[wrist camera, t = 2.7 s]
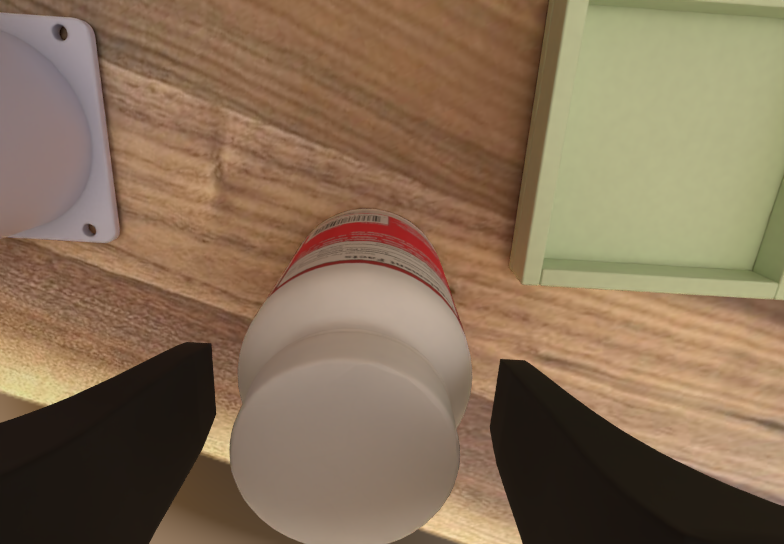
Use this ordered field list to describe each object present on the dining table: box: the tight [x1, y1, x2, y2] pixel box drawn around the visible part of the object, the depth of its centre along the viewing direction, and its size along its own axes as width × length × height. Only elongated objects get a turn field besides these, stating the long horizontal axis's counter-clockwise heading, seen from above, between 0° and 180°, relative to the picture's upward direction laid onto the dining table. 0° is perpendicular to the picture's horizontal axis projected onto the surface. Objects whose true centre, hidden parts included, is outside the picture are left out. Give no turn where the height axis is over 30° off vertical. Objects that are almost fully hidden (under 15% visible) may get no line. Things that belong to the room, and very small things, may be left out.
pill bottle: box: [230, 209, 472, 544], centre depth 15 cm, size 6×6×11 cm
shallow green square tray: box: [509, 0, 784, 300], centre depth 17 cm, size 10×10×2 cm
